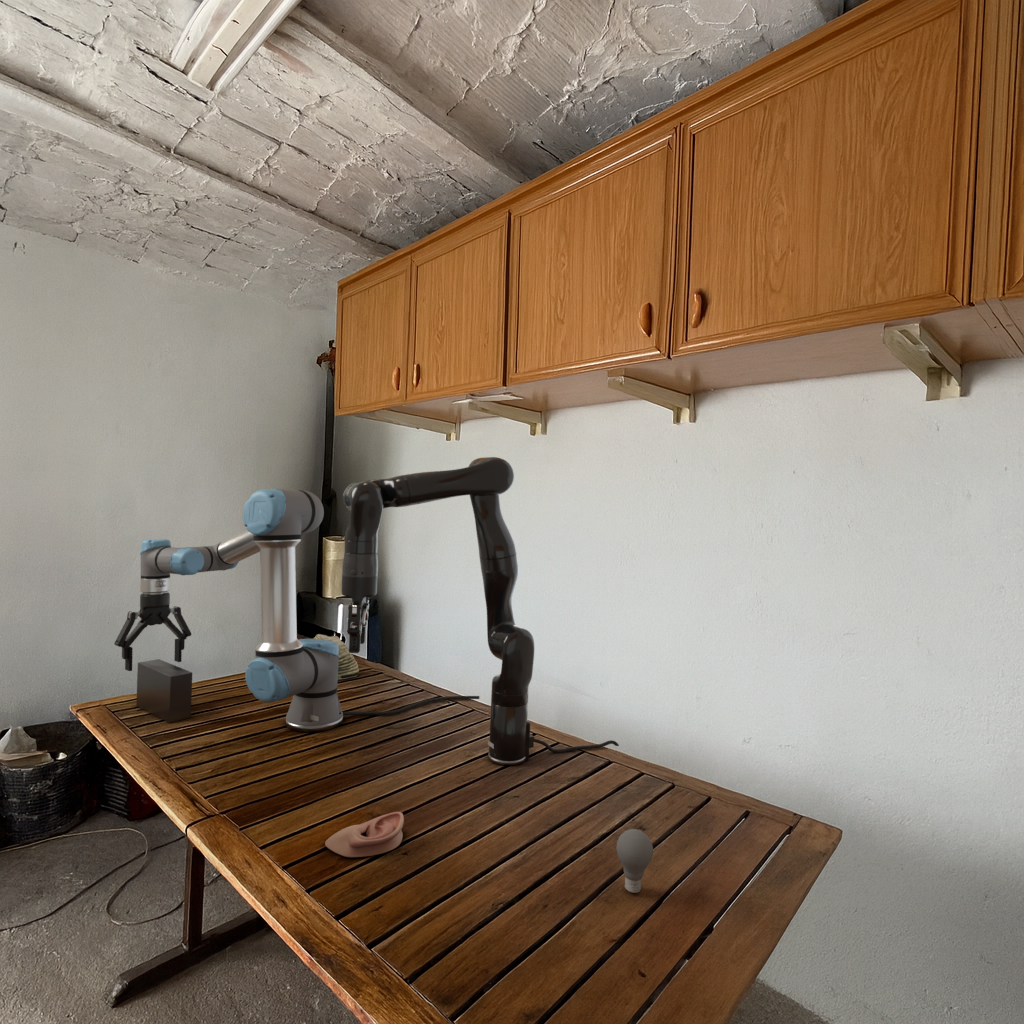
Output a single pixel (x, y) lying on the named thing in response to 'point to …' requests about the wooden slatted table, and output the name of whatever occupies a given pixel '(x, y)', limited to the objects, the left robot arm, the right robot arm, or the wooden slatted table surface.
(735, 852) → the wooden slatted table surface
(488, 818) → the wooden slatted table surface
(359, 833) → the anatomical model
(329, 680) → the left robot arm
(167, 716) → the box
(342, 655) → the fossil
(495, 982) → the wooden slatted table surface
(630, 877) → the light bulb
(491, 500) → the right robot arm
